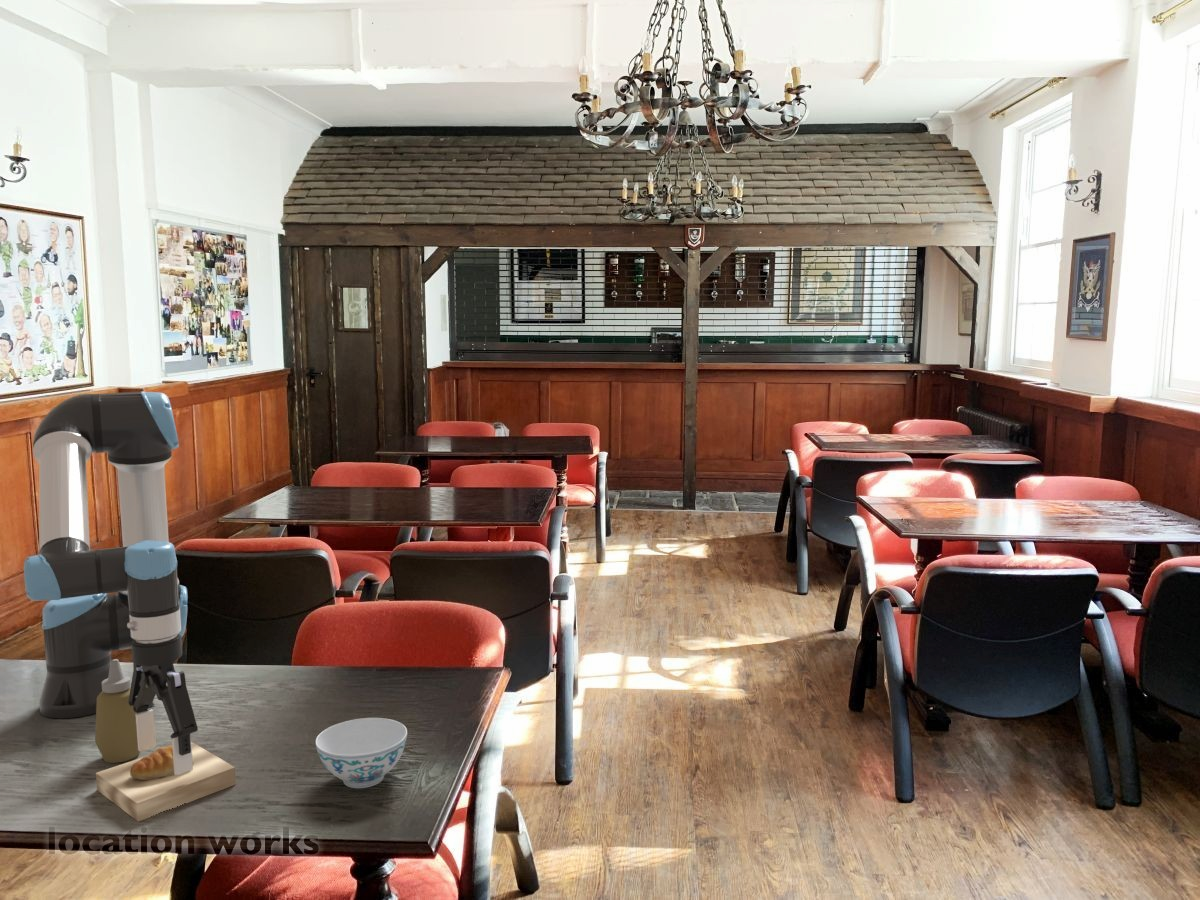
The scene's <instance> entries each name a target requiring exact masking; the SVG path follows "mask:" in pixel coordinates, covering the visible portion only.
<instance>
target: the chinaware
mask: <svg viewBox="0 0 1200 900" xmlns="http://www.w3.org/2000/svg"><path fill="white" fill-rule="evenodd" d="M407 738H408V729H407V727H406V726H405V725H404V724H403V723H402V722H399V721H397V720H395V719H389V718H386V717H385V718H382V717H365V718H364V717H363V718H355V719H350V720H346V721H343V722H338V723H336V724H334V725H333V724H332V725H331V726H329V727H326V729H324V730H322V731H321V732H320V733H319V734H318V735H317V736H316V739H315V747H316V751H317V754H318V757H319V759H320V761H321V762H322V764H323V765H324V768H325V769H326V770H327V771H328V772H329V773H331V775H333V776H334V777H336V778H338V779H339V780H342V781H343V784H344V785H345V786H346V787H348V788H351V789H366V788H370V787H373V786H375V785H378V784H381V782H382V781H383V780H384V778H385V775H387V773H389V772H390V771H391V770H392V769H393V768H394V767H395V766H396V765H397V763H398V762H399V760H400V759H401V756H402V755H403V752H404V750H405V746H406V744H407V743H406V742H407Z"/></svg>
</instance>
